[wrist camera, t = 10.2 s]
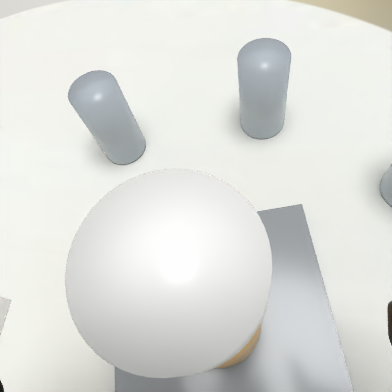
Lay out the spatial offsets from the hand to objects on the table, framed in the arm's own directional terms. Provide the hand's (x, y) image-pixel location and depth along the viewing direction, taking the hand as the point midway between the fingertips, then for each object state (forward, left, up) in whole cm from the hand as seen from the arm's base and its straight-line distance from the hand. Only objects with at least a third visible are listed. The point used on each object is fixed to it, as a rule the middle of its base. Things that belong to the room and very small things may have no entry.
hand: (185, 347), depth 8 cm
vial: (+1, +2, -12) cm, 13 cm away
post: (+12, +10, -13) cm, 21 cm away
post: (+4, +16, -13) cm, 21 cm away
